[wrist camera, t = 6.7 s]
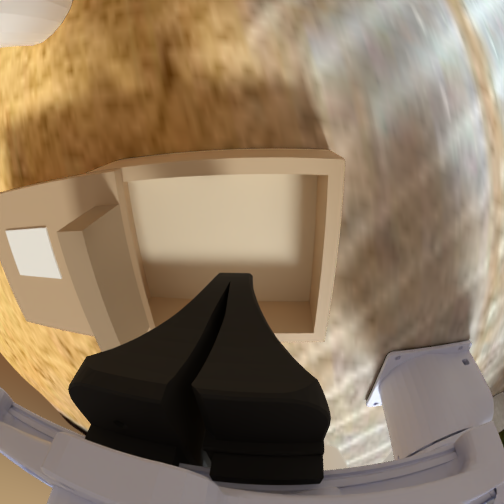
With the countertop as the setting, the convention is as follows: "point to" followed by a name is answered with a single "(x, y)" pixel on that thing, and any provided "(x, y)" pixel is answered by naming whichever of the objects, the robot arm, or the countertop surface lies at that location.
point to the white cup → (30, 20)
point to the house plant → (499, 414)
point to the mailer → (239, 229)
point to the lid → (75, 257)
